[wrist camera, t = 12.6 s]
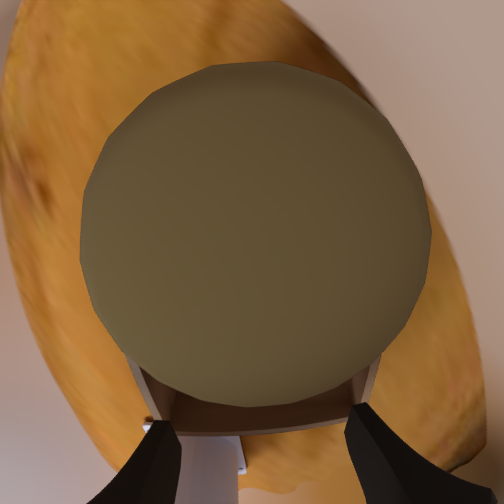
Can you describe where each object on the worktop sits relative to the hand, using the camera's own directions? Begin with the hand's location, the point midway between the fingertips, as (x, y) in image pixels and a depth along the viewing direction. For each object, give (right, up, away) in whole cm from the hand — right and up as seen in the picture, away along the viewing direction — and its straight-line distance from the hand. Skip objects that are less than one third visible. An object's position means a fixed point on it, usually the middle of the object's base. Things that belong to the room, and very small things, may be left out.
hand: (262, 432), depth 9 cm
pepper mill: (-1, +10, +4) cm, 11 cm away
